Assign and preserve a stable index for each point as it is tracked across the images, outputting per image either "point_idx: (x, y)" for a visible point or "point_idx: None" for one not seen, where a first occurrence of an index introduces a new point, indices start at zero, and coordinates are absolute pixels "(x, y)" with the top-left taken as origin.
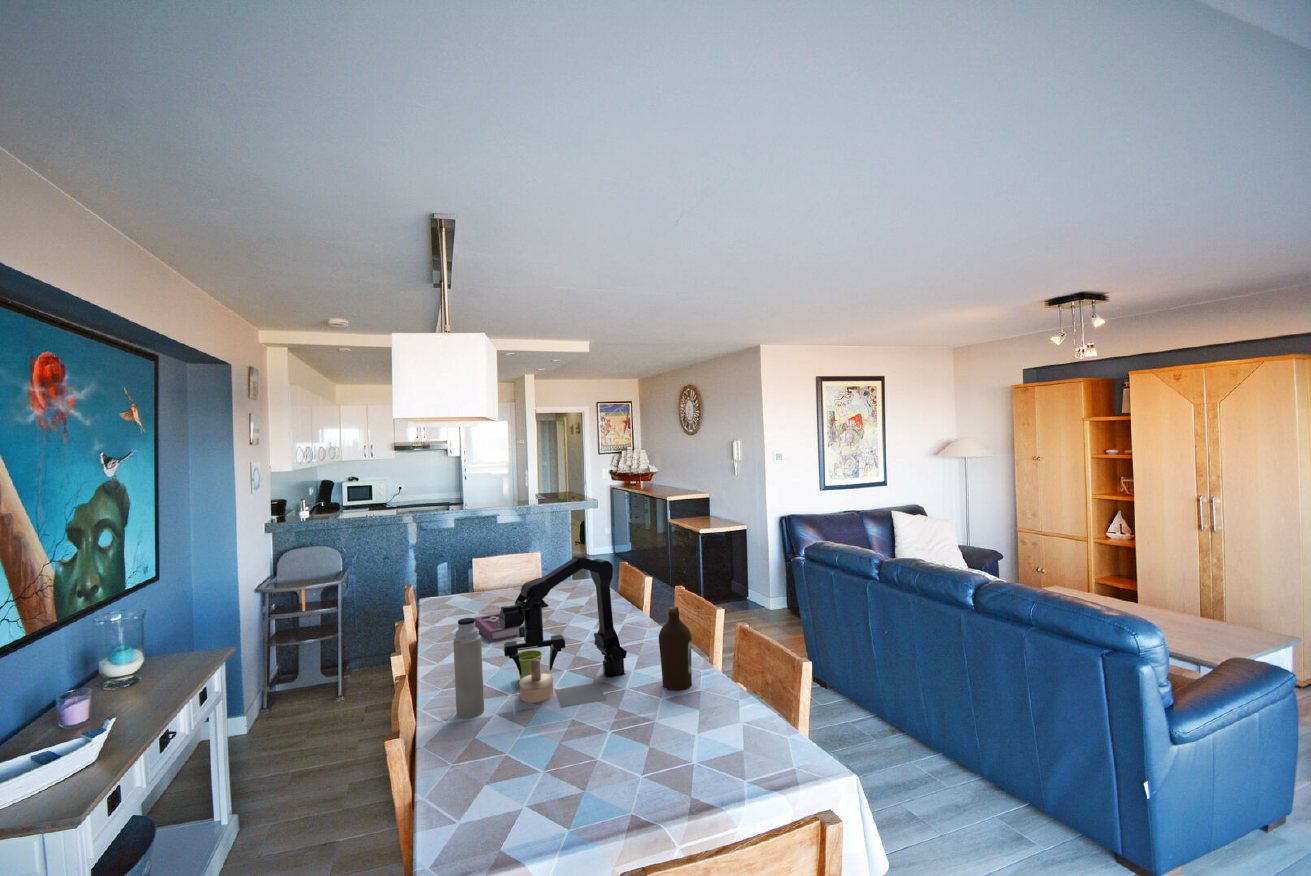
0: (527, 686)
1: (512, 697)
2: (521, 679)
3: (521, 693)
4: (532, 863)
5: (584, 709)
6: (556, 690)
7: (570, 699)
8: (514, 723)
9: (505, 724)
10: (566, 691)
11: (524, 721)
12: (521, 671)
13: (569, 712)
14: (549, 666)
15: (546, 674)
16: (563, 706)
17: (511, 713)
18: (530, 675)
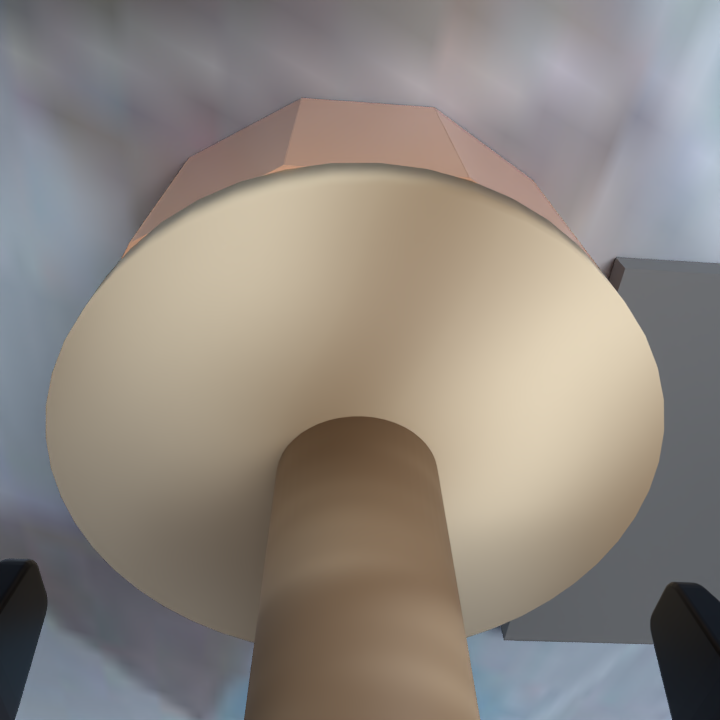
0: (196, 619)
1: (17, 178)
2: (76, 361)
3: None
4: None
5: (659, 671)
6: (628, 303)
7: (646, 555)
8: (114, 673)
9: (44, 665)
10: (717, 380)
11: (191, 673)
12: (15, 709)
13: (540, 671)
14: (700, 636)
15: (607, 336)
16: (530, 632)
17: (69, 545)
18: (275, 235)
